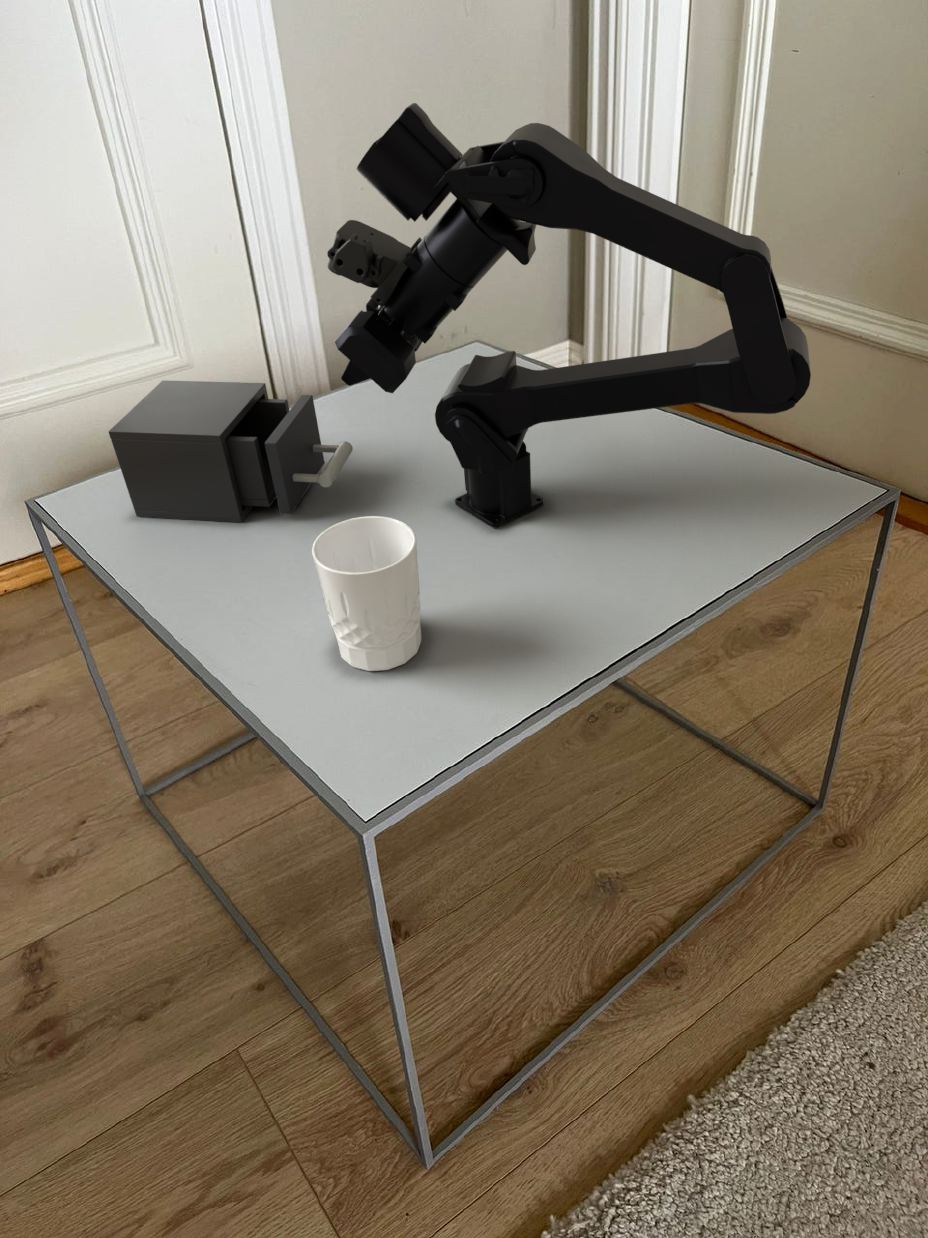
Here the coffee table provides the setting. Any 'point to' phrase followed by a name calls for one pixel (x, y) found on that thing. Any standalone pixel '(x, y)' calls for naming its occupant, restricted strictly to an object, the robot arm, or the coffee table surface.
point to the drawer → (281, 453)
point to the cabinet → (184, 449)
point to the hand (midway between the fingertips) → (345, 380)
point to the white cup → (371, 590)
